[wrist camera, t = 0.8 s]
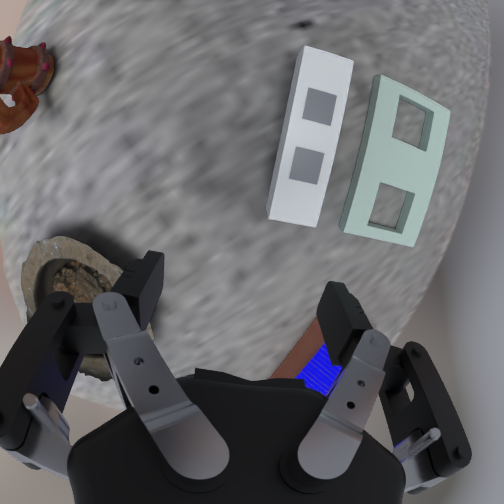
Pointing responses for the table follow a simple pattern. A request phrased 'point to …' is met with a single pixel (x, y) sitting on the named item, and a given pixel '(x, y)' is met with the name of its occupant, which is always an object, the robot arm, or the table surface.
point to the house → (310, 361)
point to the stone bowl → (69, 283)
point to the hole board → (395, 164)
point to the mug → (22, 81)
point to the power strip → (309, 136)
